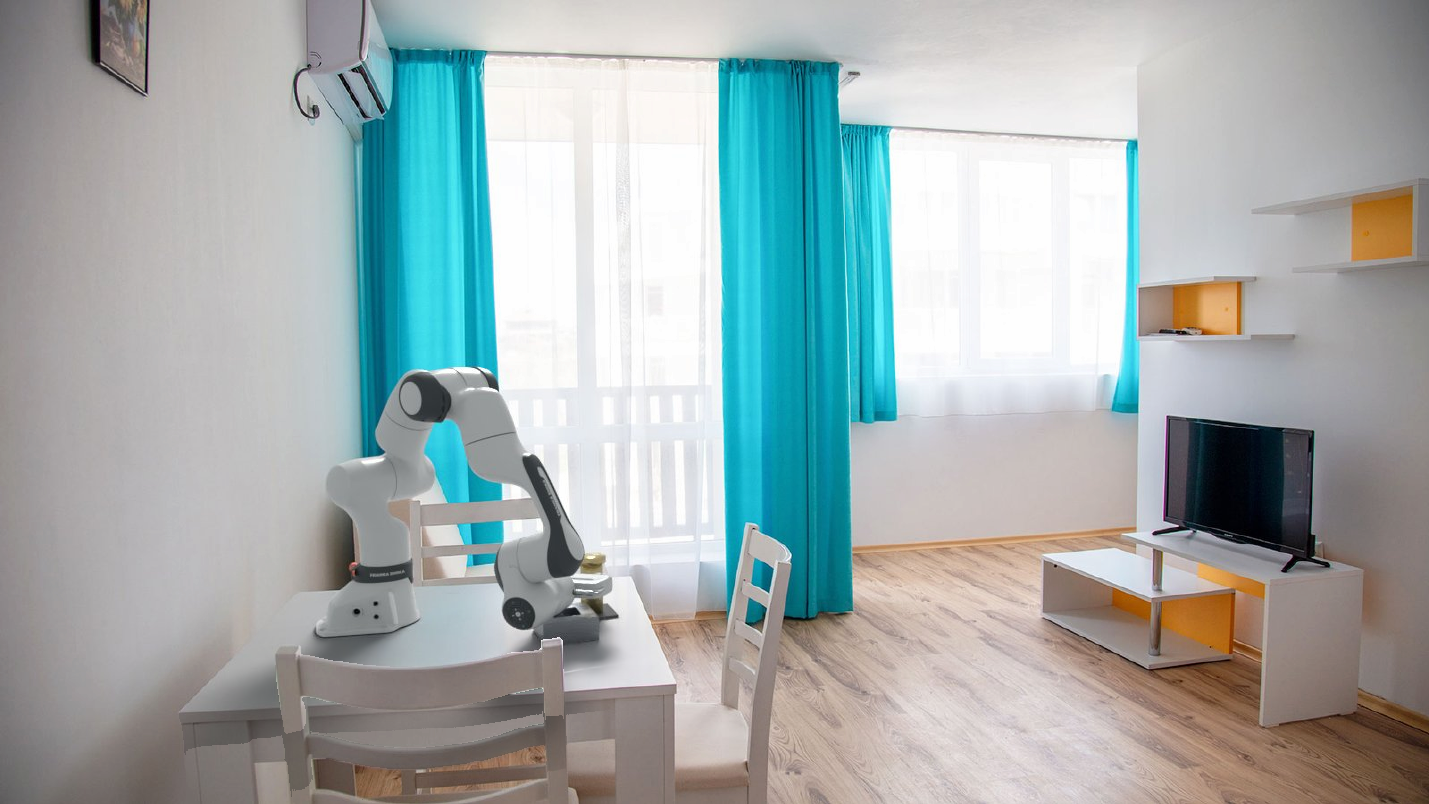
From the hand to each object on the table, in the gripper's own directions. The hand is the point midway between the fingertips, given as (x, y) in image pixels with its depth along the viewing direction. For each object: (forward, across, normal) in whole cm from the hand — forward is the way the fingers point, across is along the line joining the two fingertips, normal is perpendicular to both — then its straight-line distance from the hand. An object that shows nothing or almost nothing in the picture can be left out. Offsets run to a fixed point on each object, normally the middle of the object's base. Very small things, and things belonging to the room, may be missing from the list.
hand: (580, 574), depth 194 cm
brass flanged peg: (+6, 0, +10) cm, 12 cm away
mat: (+6, 0, +11) cm, 12 cm away
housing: (-9, 0, +11) cm, 14 cm away
